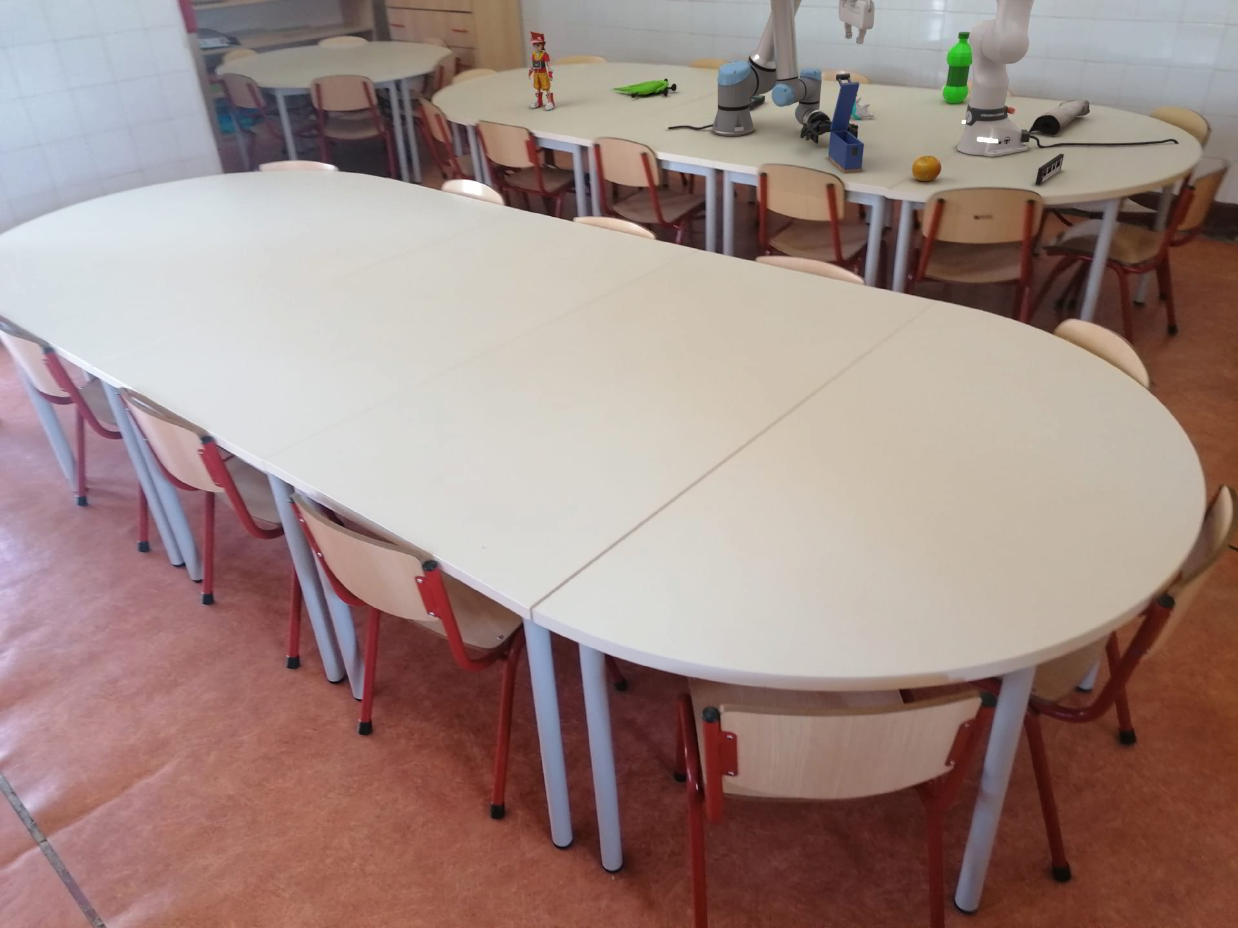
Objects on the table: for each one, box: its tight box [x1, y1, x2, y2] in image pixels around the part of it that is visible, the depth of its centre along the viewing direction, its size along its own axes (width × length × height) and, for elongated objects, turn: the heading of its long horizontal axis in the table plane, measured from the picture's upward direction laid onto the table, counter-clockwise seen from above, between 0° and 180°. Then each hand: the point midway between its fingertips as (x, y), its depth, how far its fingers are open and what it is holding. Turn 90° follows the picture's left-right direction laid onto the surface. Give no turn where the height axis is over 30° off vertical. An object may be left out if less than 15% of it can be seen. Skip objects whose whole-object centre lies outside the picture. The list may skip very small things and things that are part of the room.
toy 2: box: [612, 78, 677, 99], centre depth 396 cm, size 28×5×30 cm
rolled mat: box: [1028, 99, 1091, 137], centre depth 319 cm, size 30×9×10 cm
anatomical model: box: [851, 95, 875, 120], centre depth 344 cm, size 15×10×10 cm
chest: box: [827, 130, 865, 174], centre depth 294 cm, size 17×6×9 cm, turn 7°
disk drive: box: [749, 94, 766, 111], centre depth 366 cm, size 10×3×15 cm
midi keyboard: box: [1035, 153, 1065, 186], centre depth 273 cm, size 18×1×5 cm, turn 138°
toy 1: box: [527, 31, 556, 111], centre depth 374 cm, size 12×9×30 cm
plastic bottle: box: [942, 31, 972, 104], centre depth 348 cm, size 10×10×25 cm
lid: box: [830, 72, 860, 131], centre depth 292 cm, size 17×6×9 cm
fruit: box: [911, 155, 942, 182], centre depth 277 cm, size 8×8×8 cm
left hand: (837, 137), depth 300 cm, fingers open, 13 cm apart
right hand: (853, 41), depth 277 cm, fingers open, 8 cm apart
